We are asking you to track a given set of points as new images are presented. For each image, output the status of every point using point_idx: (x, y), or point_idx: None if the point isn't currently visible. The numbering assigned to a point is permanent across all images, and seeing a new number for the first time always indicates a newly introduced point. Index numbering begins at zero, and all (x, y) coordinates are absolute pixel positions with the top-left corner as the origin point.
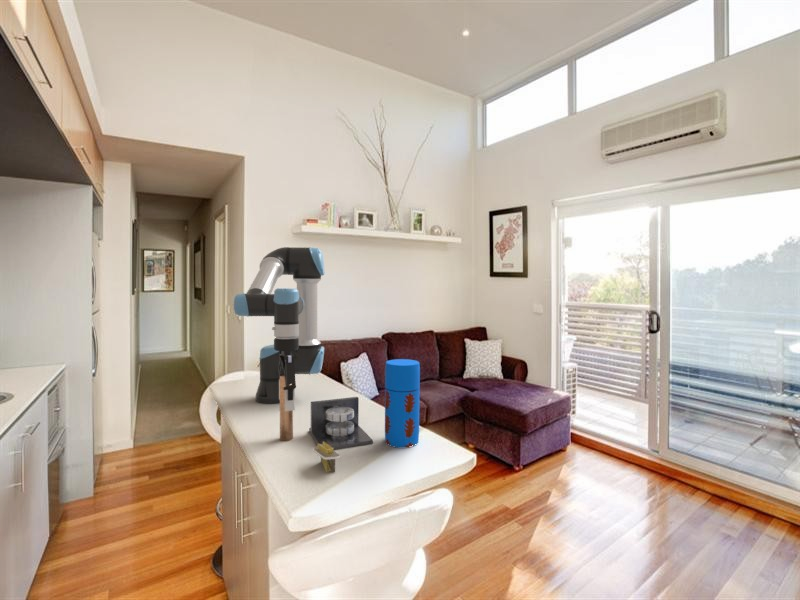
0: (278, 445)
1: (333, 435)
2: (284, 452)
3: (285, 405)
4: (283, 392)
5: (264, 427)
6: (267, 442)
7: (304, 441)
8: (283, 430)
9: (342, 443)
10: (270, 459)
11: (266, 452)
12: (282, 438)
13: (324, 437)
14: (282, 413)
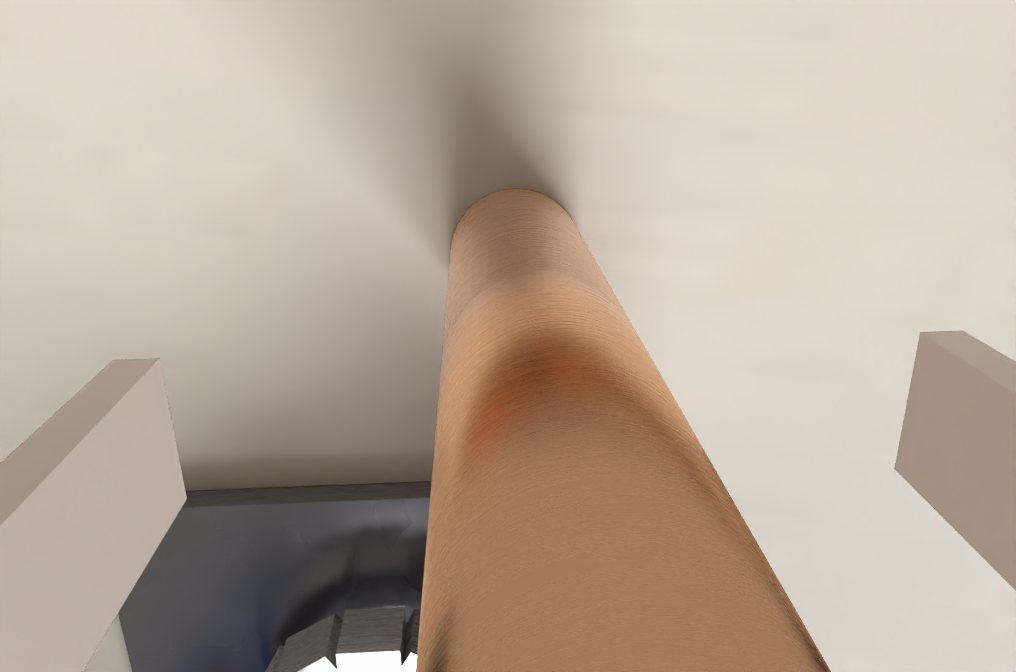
0: (363, 158)
1: (278, 648)
2: (163, 195)
3: (63, 409)
4: (450, 503)
5: (971, 61)
6: (487, 53)
7: (386, 400)
8: (459, 246)
9: (161, 666)
10: (12, 42)
11: (207, 17)
12: (468, 215)
13: (341, 569)
14: (467, 301)
